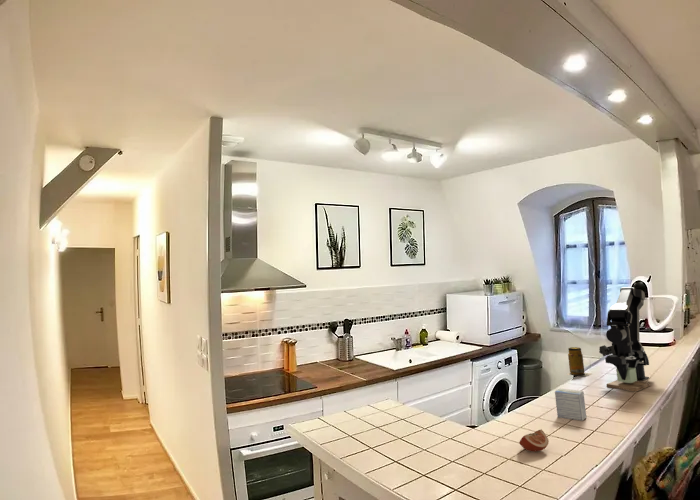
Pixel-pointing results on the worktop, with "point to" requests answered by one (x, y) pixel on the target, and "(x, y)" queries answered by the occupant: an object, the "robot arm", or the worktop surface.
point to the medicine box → (570, 404)
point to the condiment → (576, 362)
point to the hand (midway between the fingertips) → (626, 378)
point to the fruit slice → (534, 441)
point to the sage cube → (628, 376)
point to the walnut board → (628, 385)
